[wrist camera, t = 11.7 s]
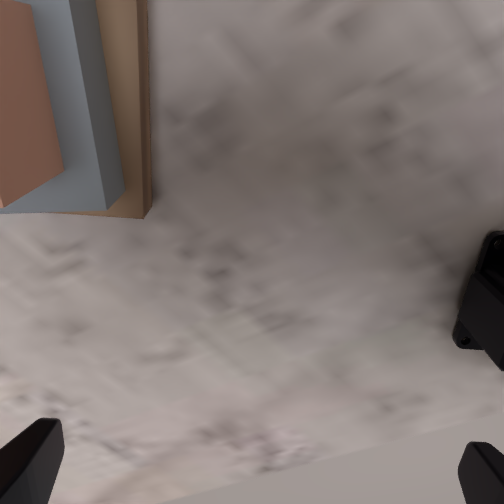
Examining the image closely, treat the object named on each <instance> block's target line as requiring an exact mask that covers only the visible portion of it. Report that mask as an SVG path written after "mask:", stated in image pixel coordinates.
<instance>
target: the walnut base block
mask: <svg viewBox="0 0 504 504" xmlns="http://www.w3.org/2000/svg"><path fill="white" fill-rule="evenodd" d="M95 3H96V9H97V15H98V21H99V28H100V34H101V40H102V46H103V53H104V59H105V65H106V71H107V78H108V84H109V90H110V96H111V103H112V109H113V115H114V121H115V128H116V134H117V140H118V147H119V153H120V159H121V165H122V172H123V178H124V184H125V190H126V191H125V192H124V193H123V194H122V195H121V196H120V197H119V198H118V199H117V200H116V201H115V203H114V204H113V205H112V206H111V207H110V208H109V209H108V210H107V211H75V212H48V213H62V214H77V215H92V216H107V217H121V218H136V219H144V217H145V216H146V214H147V213H148V211H149V210H150V208H151V207H152V183H151V141H150V100H149V58H148V16H147V0H95Z"/></svg>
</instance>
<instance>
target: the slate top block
mask: <svg viewBox="0 0 504 504" xmlns="http://www.w3.org/2000/svg"><path fill="white" fill-rule="evenodd" d="M13 1H17V2H21V3H25V4H30V5H31V9H32V14H33V19H34V24H35V29H36V34H37V38H38V43H39V48H40V53H41V58H42V63H43V68H44V73H45V78H46V83H47V87H48V92H49V97H50V102H51V107H52V112H53V117H54V122H55V127H56V132H57V137H58V141H59V146H60V151H61V156H62V161H63V166H64V172H62V173H60V174H59V175H57V176H55V177H54V178H52V179H50V180H49V181H47V182H45V183H44V184H42V185H41V186H39V187H37V188H36V189H34V190H32V191H31V192H29V193H27V194H26V195H24V196H23V197H21V198H19V199H18V200H16V201H14V202H13V203H11V204H9V205H8V206H6V207H4V208H0V214H9V213H42V212H75V211H107V210H108V209H109V208H110V207H111V206H112V205H113V204H114V203H115V201H116V200H117V199H118V198H119V197H120V196H121V195H122V194H123V193H124V192H125V191H126V190H125V184H124V178H123V172H122V165H121V159H120V153H119V147H118V140H117V134H116V128H115V121H114V115H113V109H112V103H111V96H110V90H109V84H108V78H107V71H106V65H105V59H104V53H103V46H102V40H101V34H100V28H99V21H98V15H97V9H96V3H95V0H13Z"/></svg>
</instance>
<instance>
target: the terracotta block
mask: <svg viewBox="0 0 504 504" xmlns="http://www.w3.org/2000/svg"><path fill="white" fill-rule="evenodd" d="M62 172H64V166H63V161H62V156H61V151H60V146H59V141H58V137H57V132H56V127H55V122H54V117H53V112H52V107H51V102H50V97H49V92H48V87H47V83H46V78H45V73H44V68H43V63H42V58H41V53H40V48H39V43H38V38H37V34H36V29H35V24H34V19H33V14H32V9H31V5H30V4H25V3H21V2H17V1H13V0H0V208H4V207H6V206H8V205H9V204H11V203H13V202H14V201H16V200H18V199H19V198H21V197H23V196H24V195H26V194H27V193H29V192H31V191H32V190H34V189H36V188H37V187H39V186H41V185H42V184H44V183H45V182H47V181H49V180H50V179H52V178H54V177H55V176H57V175H59V174H60V173H62Z"/></svg>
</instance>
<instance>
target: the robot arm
mask: <svg viewBox="0 0 504 504" xmlns="http://www.w3.org/2000/svg"><path fill="white" fill-rule="evenodd" d="M500 239H501V241H500V243H499V244H498V245H496V246H494V244H495V242H496V241H497V240H500ZM458 318H459V319H458V322H457V325H456V328H455V331H454V334H453V341H454V342H455V344H456V345H457V346H458V347H459V348H462V349H474V350H484V351H485V352H486V353H487V354H488V356H489V357H490V358H491V359H492V361H493V362H494V363H495V364H496V365H497V367H498V368H499V369H500V370H501V371H504V232H502V231H496V232H493V233H490V234H489V235H488V236H487V237H486V239H485V242H484V245H483V248H482V251H481V254H480V257H479V260H478V263H477V266H476V269H475V272H474V273H473V274H472V275H471V278H470V281H469V284H468V287H467V290H466V293H465V296H464V299H463V302H462V305H461V308H460V311H459V314H458ZM464 337H467V338H466V339H464V340H462V339H463V338H464ZM64 448H65V446H64V438H63V431H62V424H61V421H60V420H59V419H57V418H40V419H38V420H36V421H35V422H34V423H32V424H31V425H30V426H29V427H27V428H26V429H25V430H24V431H22V432H21V433H20V434H19V435H17V436H16V437H15V438H14V439H12V440H11V441H10V442H8V443H7V444H6V445H5V446H3V447H2V448H1V449H0V504H48V501H49V498H50V495H51V492H52V489H53V486H54V483H55V480H56V477H57V474H58V471H59V468H60V465H61V462H62V459H63V455H64ZM458 477H459V481H460V484H461V488H462V491H463V494H464V497H465V501H466V504H504V455H503V454H502V453H501V452H499V451H498V450H497V449H496V448H495V447H493V446H492V445H491V444H489V443H486V442H469V443H468V444H467V446H466V448H465V451H464V453H463V456H462V458H461V461H460V463H459V466H458Z"/></svg>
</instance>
